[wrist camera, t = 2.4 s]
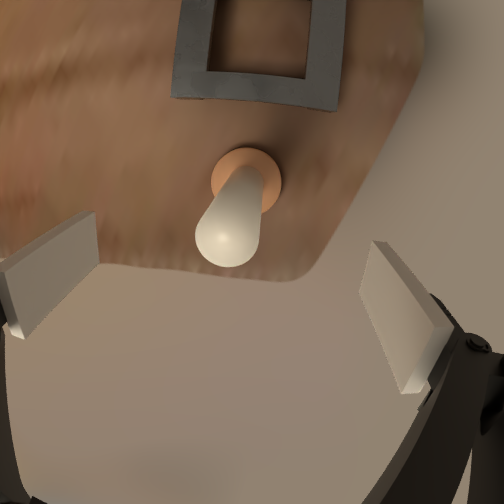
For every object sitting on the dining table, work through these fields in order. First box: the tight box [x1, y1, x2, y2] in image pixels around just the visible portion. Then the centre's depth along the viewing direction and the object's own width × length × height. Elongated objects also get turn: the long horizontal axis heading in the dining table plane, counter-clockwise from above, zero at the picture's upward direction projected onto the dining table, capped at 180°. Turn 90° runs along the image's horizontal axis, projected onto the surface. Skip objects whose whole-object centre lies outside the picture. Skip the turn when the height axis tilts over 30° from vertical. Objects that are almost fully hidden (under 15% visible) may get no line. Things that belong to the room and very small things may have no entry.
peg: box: [195, 147, 281, 267], centre depth 21 cm, size 6×6×14 cm
